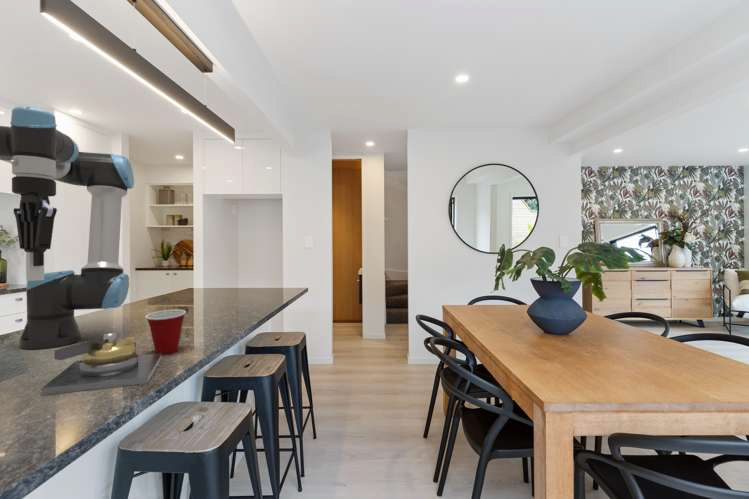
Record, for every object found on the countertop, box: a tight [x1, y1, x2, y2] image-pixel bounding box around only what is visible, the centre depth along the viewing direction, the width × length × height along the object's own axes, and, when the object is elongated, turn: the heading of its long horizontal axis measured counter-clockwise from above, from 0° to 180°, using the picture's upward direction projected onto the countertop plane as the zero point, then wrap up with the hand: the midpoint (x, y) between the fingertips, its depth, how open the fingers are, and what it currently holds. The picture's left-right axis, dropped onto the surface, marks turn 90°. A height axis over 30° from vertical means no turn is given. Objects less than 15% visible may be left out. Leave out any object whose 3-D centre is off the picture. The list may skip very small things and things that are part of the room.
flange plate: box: [40, 352, 163, 396], centre depth 93 cm, size 20×20×4 cm
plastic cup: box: [144, 308, 187, 355], centre depth 113 cm, size 11×11×12 cm
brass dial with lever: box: [54, 331, 137, 364], centre depth 90 cm, size 18×11×6 cm, turn 165°
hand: (35, 280), depth 86 cm, fingers closed
